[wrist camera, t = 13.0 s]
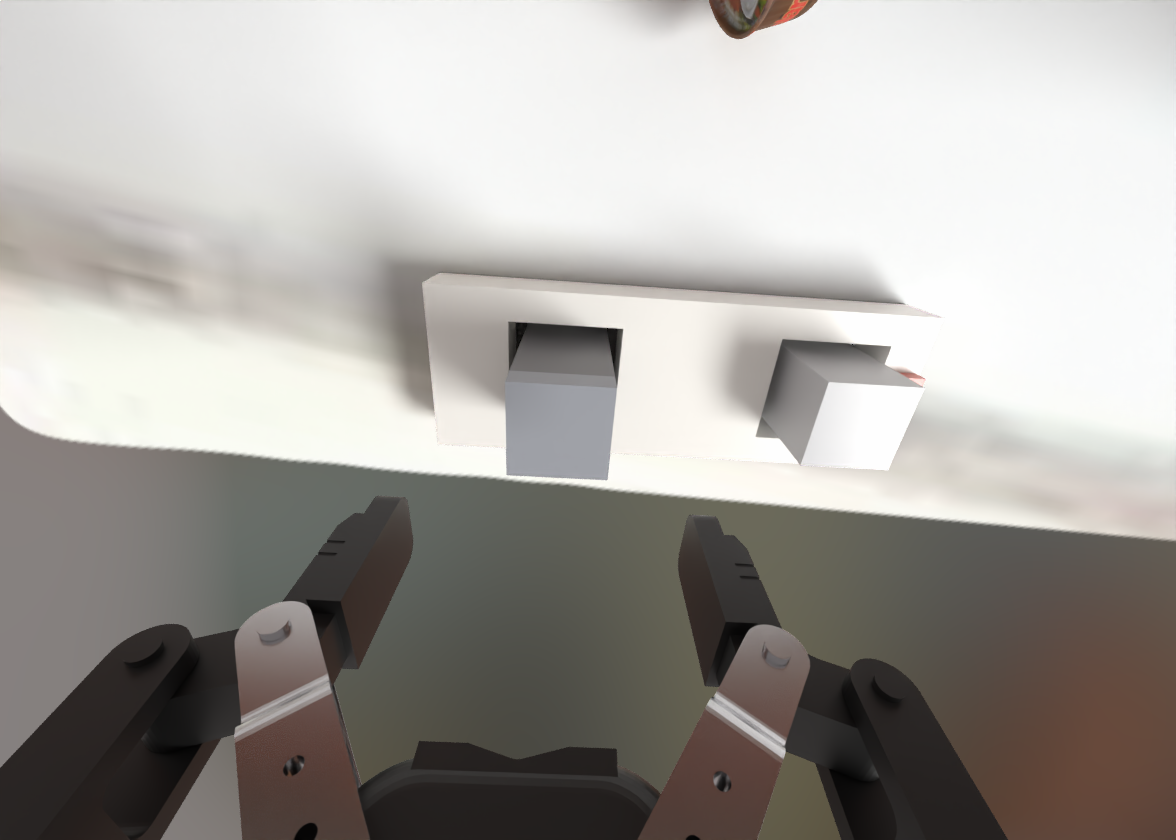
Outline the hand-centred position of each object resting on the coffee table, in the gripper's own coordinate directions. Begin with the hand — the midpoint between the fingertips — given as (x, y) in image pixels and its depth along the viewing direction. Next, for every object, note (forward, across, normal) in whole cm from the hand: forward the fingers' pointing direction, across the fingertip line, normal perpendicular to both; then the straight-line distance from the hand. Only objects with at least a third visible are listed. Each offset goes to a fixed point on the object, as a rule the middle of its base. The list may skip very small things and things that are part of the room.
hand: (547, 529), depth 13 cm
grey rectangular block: (+15, 0, 0) cm, 15 cm away
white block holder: (+15, -6, 0) cm, 16 cm away
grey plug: (+15, -14, 0) cm, 21 cm away
